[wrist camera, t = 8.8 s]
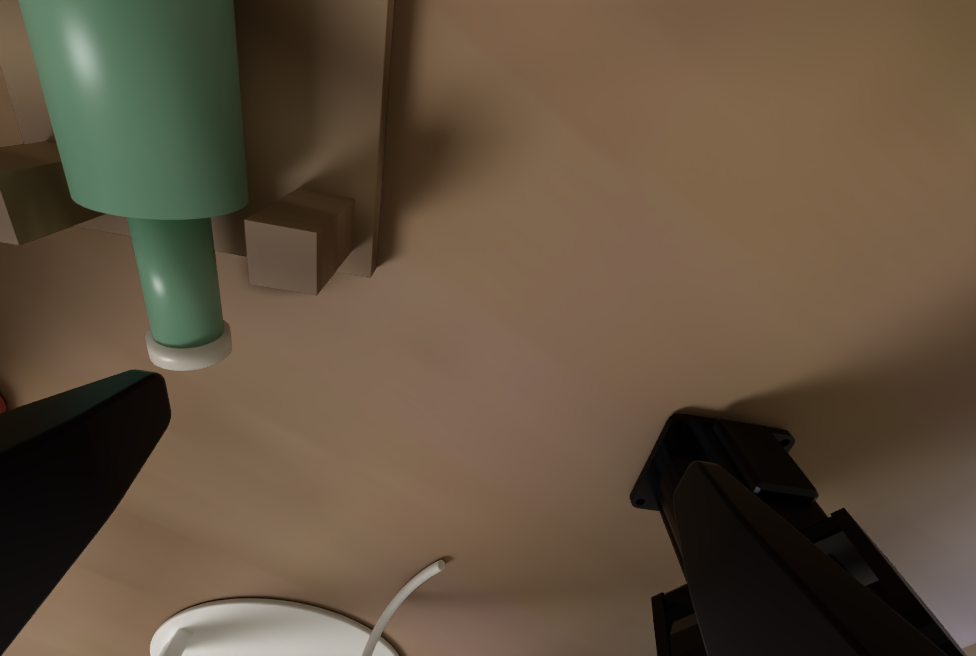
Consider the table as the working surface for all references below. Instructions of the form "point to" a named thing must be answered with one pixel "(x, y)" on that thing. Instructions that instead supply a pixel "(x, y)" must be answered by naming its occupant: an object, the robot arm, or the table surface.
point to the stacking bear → (2, 405)
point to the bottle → (151, 145)
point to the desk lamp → (276, 628)
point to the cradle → (249, 142)
